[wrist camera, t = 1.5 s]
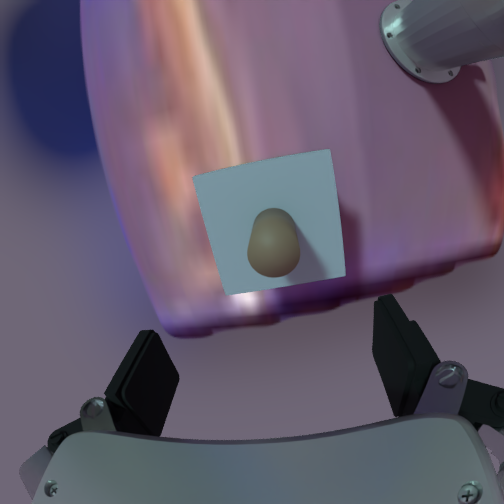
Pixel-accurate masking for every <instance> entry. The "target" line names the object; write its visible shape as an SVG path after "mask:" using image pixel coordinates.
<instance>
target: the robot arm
mask: <svg viewBox="0 0 504 504" xmlns="http://www.w3.org/2000/svg"><path fill="white" fill-rule="evenodd" d="M380 32H381V36H382V40H383V42H384V44H385V46H386V48H387V50H388V51H389V53H390V54H391V56H392V57H393V58H394V59H395V61H396V62H397V63H398V64H399V65H400V66H401V67H402V68H403V69H404V70H405V71H407V72H408V73H410V74H411V75H412V76H414V77H416V78H418V79H420V80H422V81H425V82H428V83H434V84H436V83H444V82H448V81H450V80H452V79H453V78H455V77H456V76H457V74H458V73H459V71H460V68H461V66H463V65H467V64H471V63H476V62H480V61H485V60H489V59H494V58H500V57H504V0H413V1H411V0H399V1H395V2H393V3H391V4H390V5H389V6H387V7H386V9H385V10H384V11H383V13H382V15H381V17H380ZM387 36H388V37H389V38H388V37H387ZM415 70H416V71H415ZM372 352H373V357H374V360H375V362H376V365H377V367H378V370H379V373H380V376H381V378H382V381H383V384H384V387H385V390H386V393H387V396H388V399H389V402H390V404H391V408H392V411H393V414H394V416H395V417H397V416H399V417H398V418H393V419H389V420H384V421H380V422H375V423H371V424H366V425H362V426H357V427H352V428H347V429H341V430H335V431H330V432H323V433H317V434H309V435H302V436H294V437H282V438H270V439H254V440H198V439H197V440H196V439H180V438H167V437H160V435H161V433H162V430H163V427H164V424H165V421H166V417H167V414H168V412H169V409H170V406H171V403H172V400H173V397H174V394H175V391H176V388H177V385H178V382H179V374H178V372H177V370H176V368H175V366H174V364H173V362H172V360H171V359H170V357H169V354H168V353H167V351H166V349H165V347H164V345H163V343H162V340H161V338H160V336H159V335H158V333H155V331H154V330H142V331H140V332H139V334H138V335H137V337H136V339H135V340H134V342H133V344H132V345H131V347H130V349H129V351H128V352H127V354H126V356H125V357H124V359H123V361H122V362H121V364H120V366H119V368H118V370H117V371H116V373H115V375H114V376H113V378H112V380H111V382H110V384H109V385H108V387H107V389H106V391H105V393H104V394H105V395H106V398H105V399H103V398H101V397H94V398H91V399H89V400H87V401H86V402H85V403H84V404H83V406H82V407H81V410H80V418H79V419H77V420H75V421H73V422H71V423H69V424H67V425H65V426H63V427H61V428H59V429H57V430H55V431H54V432H53V433H52V434H51V435H50V437H49V439H48V447H46V446H45V445H44V446H43V447H42V448H41V449H40V450H38V451H37V452H36V453H35V454H34V455H32V456H31V457H30V458H29V459H28V460H26V461H25V462H24V463H23V464H22V465H21V467H20V472H19V474H20V477H21V479H22V481H23V483H24V485H25V487H26V489H27V491H28V493H29V495H30V497H31V499H32V500H33V501H32V504H504V389H503V388H499V387H495V386H492V385H488V384H485V383H481V382H478V381H474V380H470V379H468V373H467V370H466V369H465V367H464V366H463V365H462V364H460V363H458V362H455V361H444V362H440V360H439V358H438V356H437V354H436V353H435V351H434V349H433V348H432V346H431V344H430V343H429V341H428V340H427V338H426V337H425V335H424V333H423V332H422V330H421V328H420V327H419V325H418V324H417V322H416V321H414V320H413V321H409V320H408V318H407V316H406V315H405V313H404V312H403V310H402V308H401V307H400V305H399V304H398V302H397V301H396V299H395V298H394V296H393V295H392V294H389V295H384V296H380V297H378V301H375V302H374V325H373V346H372ZM486 447H488V448H489V449H490V450H492V452H491V454H493V455H494V456H496V458H497V459H498V460H499V463H500V468H499V472H498V474H496V471H495V469H494V466H493V463H492V461H491V458H490V456H489V453H488V451H487V449H486ZM461 487H462V488H461Z"/></svg>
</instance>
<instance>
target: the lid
mask: <svg viewBox="0 0 504 504" xmlns="http://www.w3.org/2000/svg"><path fill="white" fill-rule="evenodd" d="M192 178H193V182H194V186H195V190H196V193H197V197H198V201H199V205H200V208H201V212H202V216H203V219H204V223H205V226H206V230H207V233H208V237H209V241H210V244H211V247H212V251H213V254H214V258H215V261H216V265H217V268H218V271H219V275H220V278H221V281H222V285H223V288H224V291H225V294H226V295H232V294H239V293H246V292H253V291H260V290H266V289H272V288H279V287H285V286H291V285H297V284H303V283H309V282H315V281H320V280H326V279H332V278H337V277H343V276H346V273H345V260H344V249H343V239H342V229H341V221H340V212H339V205H338V197H337V190H336V183H335V177H334V171H333V165H332V159H331V153H330V150H329V149H325V150H318V151H312V152H305V153H299V154H293V155H288V156H282V157H277V158H271V159H266V160H261V161H256V162H251V163H247V164H242V165H237V166H233V167H229V168H224V169H220V170H216V171H212V172H208V173H203V174H200V175H196V176H194V177H192Z"/></svg>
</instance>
